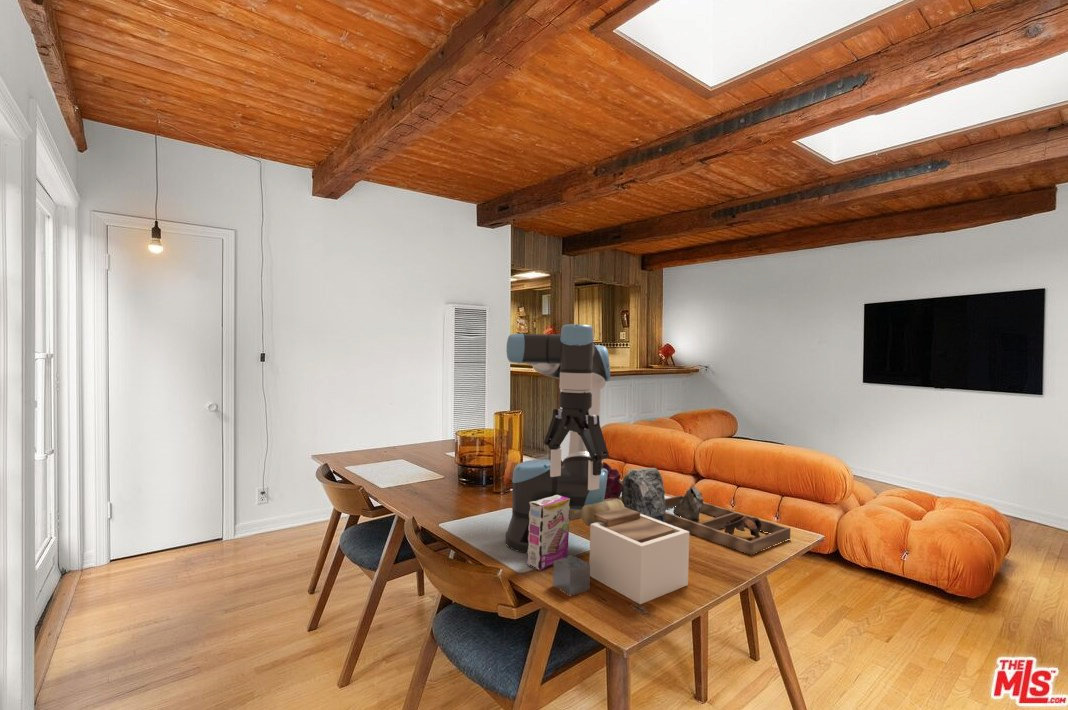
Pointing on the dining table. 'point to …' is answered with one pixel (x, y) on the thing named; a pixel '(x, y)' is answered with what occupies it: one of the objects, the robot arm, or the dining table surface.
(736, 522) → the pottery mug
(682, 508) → the concrete fragment
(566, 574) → the iron block
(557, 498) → the candy bar box
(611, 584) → the white open box
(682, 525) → the walnut tray
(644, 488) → the stone block
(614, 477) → the flower arrangement
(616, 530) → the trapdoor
